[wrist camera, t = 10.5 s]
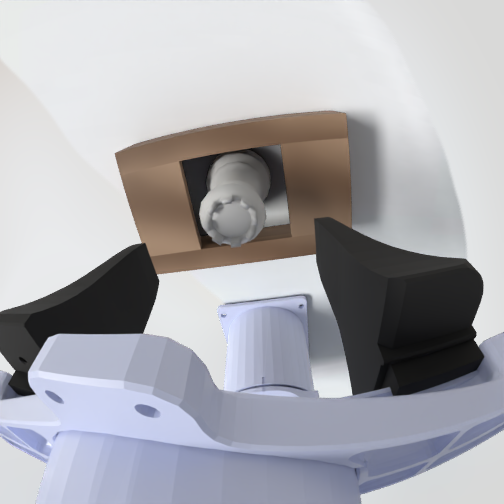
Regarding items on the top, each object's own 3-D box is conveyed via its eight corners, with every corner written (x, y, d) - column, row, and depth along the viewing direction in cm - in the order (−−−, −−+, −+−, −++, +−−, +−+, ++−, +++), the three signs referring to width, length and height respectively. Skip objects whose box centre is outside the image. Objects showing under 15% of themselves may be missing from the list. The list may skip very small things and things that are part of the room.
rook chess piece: (272, 148, 19) (284, 178, 12) (268, 208, 21) (275, 266, 14) (208, 146, 19) (180, 175, 12) (208, 205, 21) (186, 263, 14)
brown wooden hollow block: (338, 227, 22) (351, 249, 19) (165, 250, 23) (153, 274, 20) (330, 110, 18) (345, 113, 15) (135, 143, 19) (114, 153, 16)
